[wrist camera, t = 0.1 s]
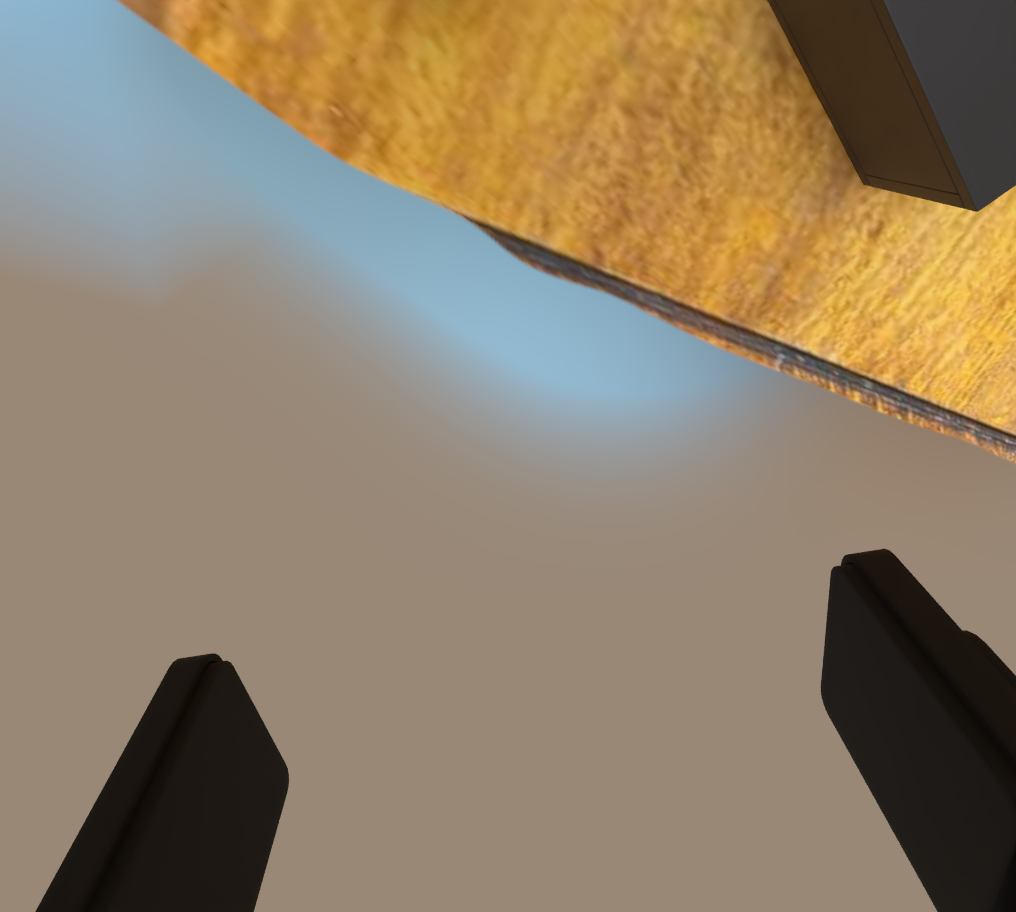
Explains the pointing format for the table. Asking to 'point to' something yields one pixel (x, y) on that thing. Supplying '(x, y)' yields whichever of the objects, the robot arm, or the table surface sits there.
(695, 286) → the table surface
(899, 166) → the cabinet
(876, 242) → the table surface
